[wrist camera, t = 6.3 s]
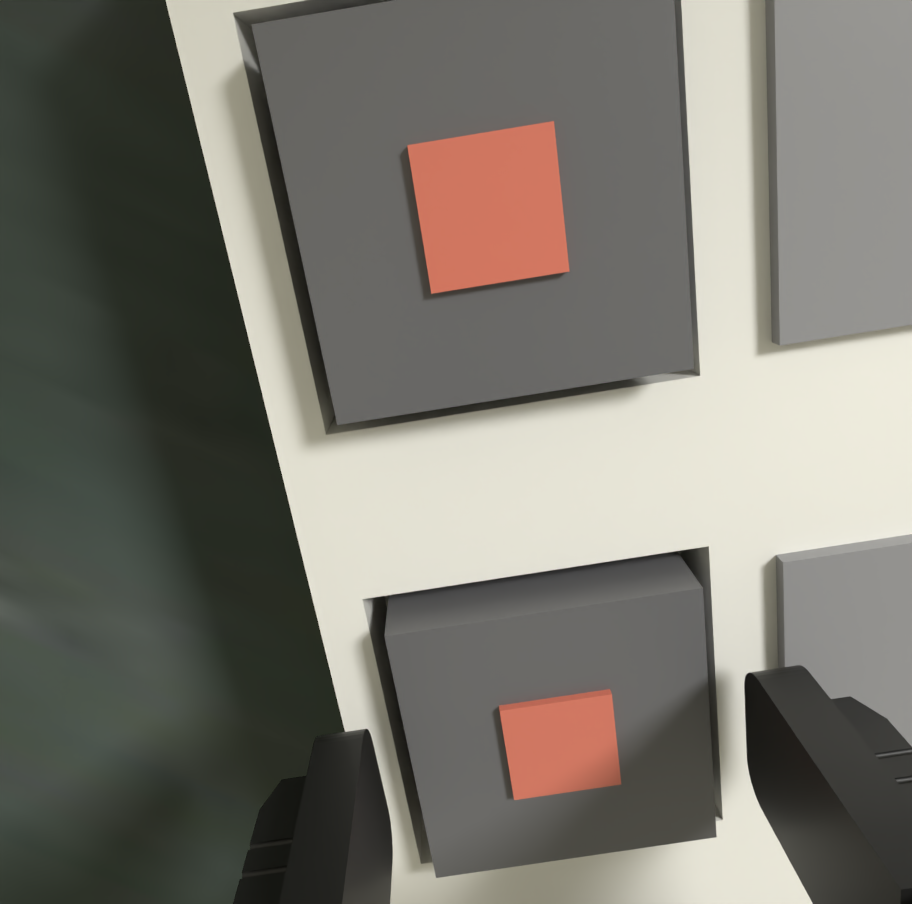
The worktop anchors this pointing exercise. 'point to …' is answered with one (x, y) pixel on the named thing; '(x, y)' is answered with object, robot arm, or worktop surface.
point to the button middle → (556, 712)
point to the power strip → (634, 419)
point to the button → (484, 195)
